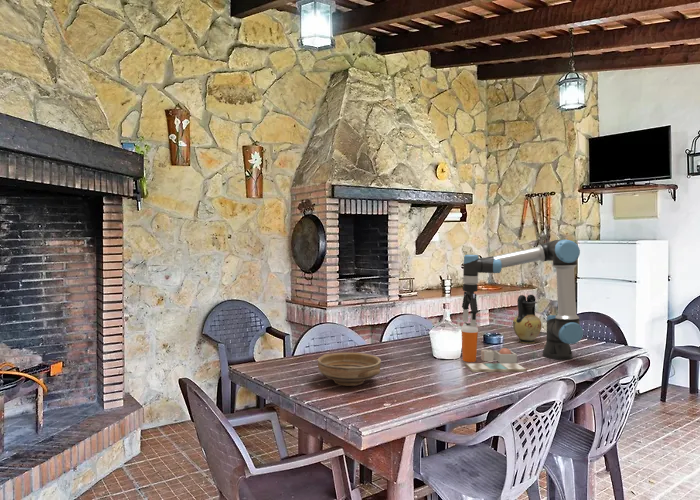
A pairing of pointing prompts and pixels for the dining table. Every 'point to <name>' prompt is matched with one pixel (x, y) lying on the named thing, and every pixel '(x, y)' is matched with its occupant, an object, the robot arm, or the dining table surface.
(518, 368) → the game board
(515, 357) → the dome collar
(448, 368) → the dining table surface
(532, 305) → the amphora
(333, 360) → the ceramic bowl
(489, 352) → the die
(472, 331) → the shaker bottle
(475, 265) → the robot arm
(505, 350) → the dome button
